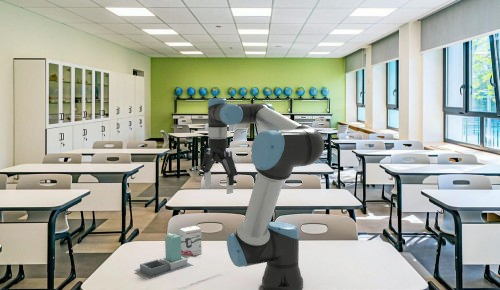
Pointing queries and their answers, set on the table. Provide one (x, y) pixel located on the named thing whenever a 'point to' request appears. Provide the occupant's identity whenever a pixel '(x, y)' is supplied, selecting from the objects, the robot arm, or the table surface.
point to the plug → (173, 247)
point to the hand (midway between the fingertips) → (218, 190)
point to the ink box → (190, 240)
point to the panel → (161, 267)
